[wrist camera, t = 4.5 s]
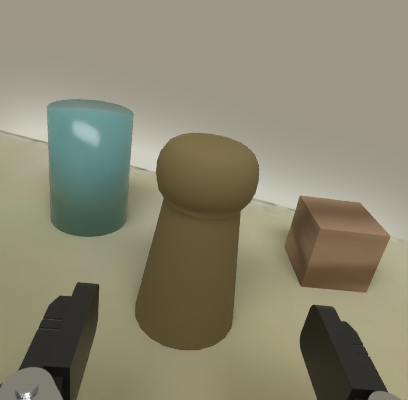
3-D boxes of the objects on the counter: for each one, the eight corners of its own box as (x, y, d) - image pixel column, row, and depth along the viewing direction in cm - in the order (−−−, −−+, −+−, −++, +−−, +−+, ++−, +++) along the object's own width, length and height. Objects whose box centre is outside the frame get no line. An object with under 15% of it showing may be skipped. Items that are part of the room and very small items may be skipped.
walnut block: (365, 293, 28) (390, 236, 26) (300, 287, 27) (320, 228, 25) (340, 254, 32) (360, 202, 30) (284, 248, 32) (299, 195, 29)
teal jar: (61, 242, 27) (59, 122, 24) (43, 205, 32) (38, 98, 28) (137, 228, 31) (146, 121, 27) (111, 196, 35) (116, 100, 31)
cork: (160, 269, 26) (179, 115, 22) (242, 297, 25) (282, 139, 20) (115, 326, 21) (127, 140, 16) (217, 366, 20) (262, 175, 15)
